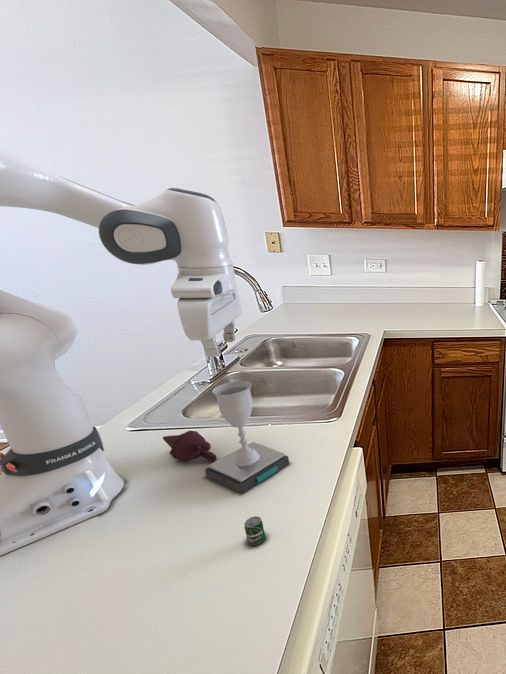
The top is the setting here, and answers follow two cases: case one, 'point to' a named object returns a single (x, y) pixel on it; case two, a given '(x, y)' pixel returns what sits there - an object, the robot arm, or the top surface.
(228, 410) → the chalice
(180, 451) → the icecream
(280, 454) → the scale pan
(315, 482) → the top surface
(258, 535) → the beer can
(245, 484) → the scale
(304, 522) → the top surface
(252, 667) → the top surface
